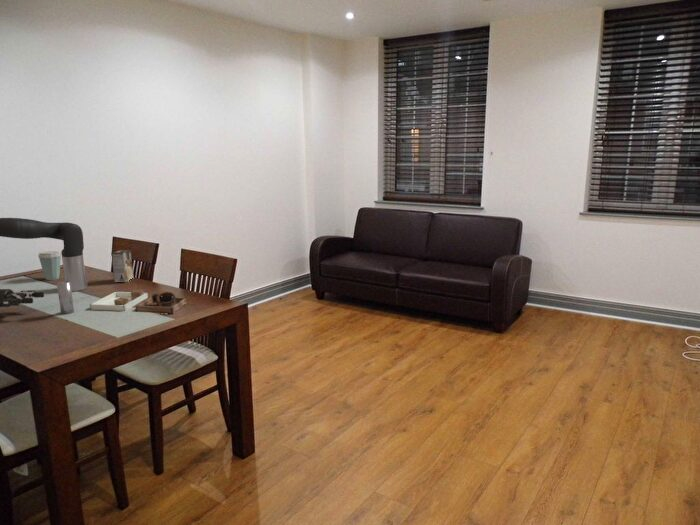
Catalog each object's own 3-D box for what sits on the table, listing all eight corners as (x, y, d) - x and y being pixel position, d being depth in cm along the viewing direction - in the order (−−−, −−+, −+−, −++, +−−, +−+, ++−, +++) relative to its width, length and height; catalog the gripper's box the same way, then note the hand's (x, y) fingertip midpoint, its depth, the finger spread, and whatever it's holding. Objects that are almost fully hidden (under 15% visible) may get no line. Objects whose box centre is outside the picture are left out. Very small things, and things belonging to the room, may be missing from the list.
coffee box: (122, 278, 274) (119, 249, 271) (133, 278, 274) (131, 249, 271) (114, 283, 265) (111, 253, 262) (126, 283, 265) (123, 253, 262)
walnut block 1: (122, 306, 224) (121, 297, 223) (129, 307, 223) (128, 298, 222) (115, 308, 221) (114, 300, 220) (122, 309, 219) (121, 301, 218)
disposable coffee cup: (47, 276, 278) (43, 249, 274) (67, 276, 279) (64, 249, 275) (37, 281, 267) (33, 253, 264) (59, 281, 268) (55, 253, 265)
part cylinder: (66, 312, 219) (62, 280, 215) (76, 312, 218) (73, 281, 215) (58, 315, 214) (54, 283, 211) (69, 316, 213) (65, 284, 210)
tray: (115, 297, 239) (115, 291, 239) (148, 299, 238) (147, 292, 237) (90, 311, 220) (89, 304, 219) (125, 312, 218) (124, 305, 218)
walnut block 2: (134, 298, 236) (133, 289, 235) (143, 298, 236) (142, 289, 236) (131, 300, 232) (130, 292, 231) (140, 300, 233) (139, 292, 232)
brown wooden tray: (152, 302, 233) (152, 296, 232) (187, 303, 231) (187, 297, 230) (136, 312, 218) (135, 306, 218) (173, 314, 217) (172, 307, 216)
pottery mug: (182, 305, 230) (180, 292, 225) (170, 320, 223) (169, 307, 218) (158, 297, 232) (156, 284, 226) (146, 311, 225) (143, 299, 219)
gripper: (-14, 294, 205) (27, 293, 206) (7, 284, 218) (46, 284, 219) (-12, 312, 206) (30, 311, 207) (9, 301, 220) (48, 301, 221)
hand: (38, 297), depth 213 cm, fingers open, 8 cm apart
